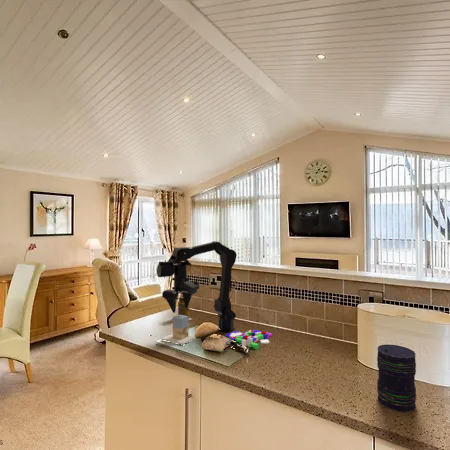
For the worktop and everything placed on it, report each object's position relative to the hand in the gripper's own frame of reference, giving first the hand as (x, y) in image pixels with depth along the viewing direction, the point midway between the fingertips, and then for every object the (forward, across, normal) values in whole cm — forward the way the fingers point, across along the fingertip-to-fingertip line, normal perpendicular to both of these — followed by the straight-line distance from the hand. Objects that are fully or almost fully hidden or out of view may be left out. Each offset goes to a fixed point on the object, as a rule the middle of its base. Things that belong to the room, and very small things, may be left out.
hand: (180, 310), depth 144 cm
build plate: (+13, 0, 0) cm, 13 cm away
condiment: (+13, +25, +18) cm, 34 cm away
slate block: (+8, 0, 0) cm, 8 cm away
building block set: (+14, +14, -26) cm, 33 cm away
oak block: (+12, 0, 0) cm, 12 cm away
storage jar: (+13, -11, -86) cm, 88 cm away
